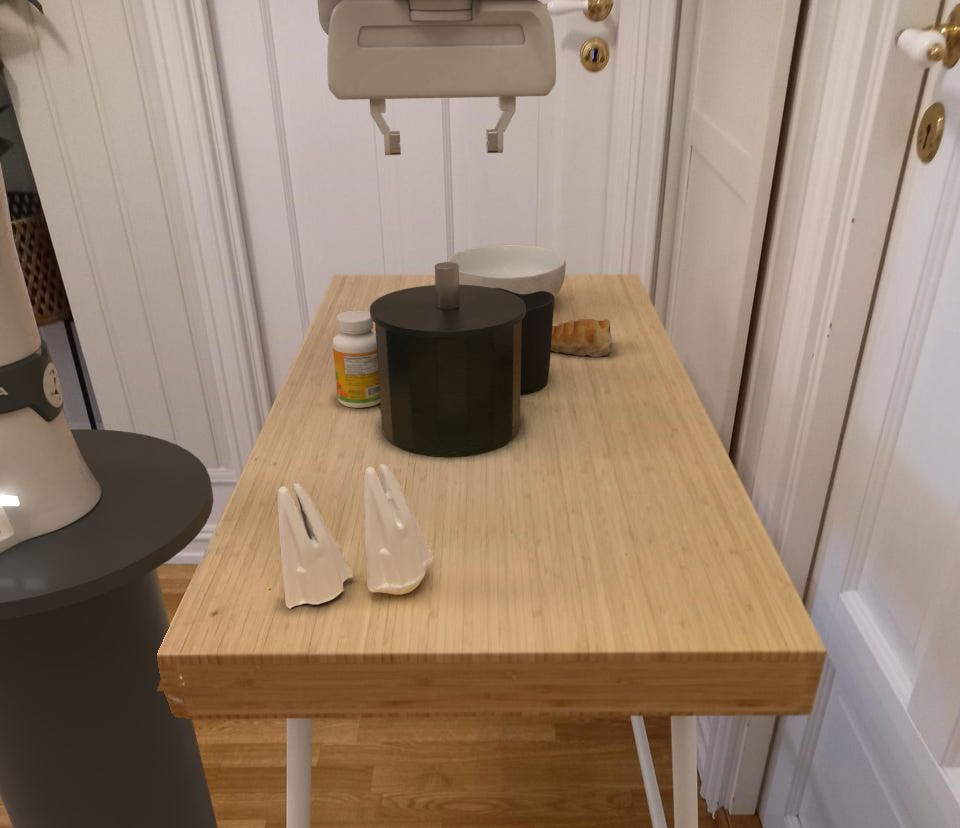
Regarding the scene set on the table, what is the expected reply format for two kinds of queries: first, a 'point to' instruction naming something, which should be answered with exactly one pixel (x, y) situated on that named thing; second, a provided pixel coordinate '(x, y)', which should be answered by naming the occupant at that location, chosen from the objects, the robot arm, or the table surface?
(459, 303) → the lid
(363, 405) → the supplement bottle
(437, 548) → the table surface
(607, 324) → the pastry
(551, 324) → the pen holder
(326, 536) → the shaker set
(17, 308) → the robot arm
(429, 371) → the tin
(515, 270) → the cereal bowl
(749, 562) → the table surface
